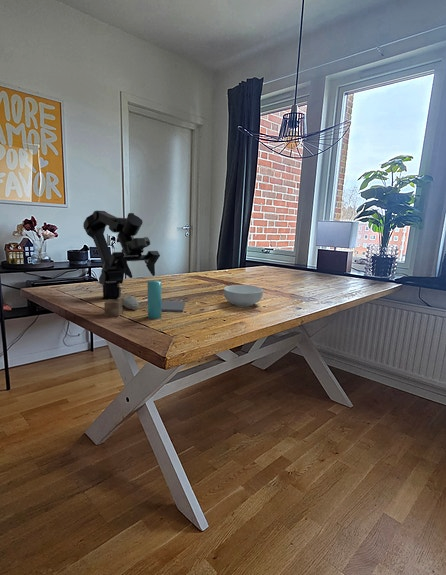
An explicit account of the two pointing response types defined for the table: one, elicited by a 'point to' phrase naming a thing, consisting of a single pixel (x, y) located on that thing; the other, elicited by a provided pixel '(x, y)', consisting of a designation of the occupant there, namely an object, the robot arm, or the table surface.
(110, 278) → the robot arm
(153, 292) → the teal tall cylinder
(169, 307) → the charcoal mat
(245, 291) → the cereal bowl
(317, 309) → the table surface
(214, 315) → the table surface
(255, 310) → the table surface
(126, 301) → the decorative stone
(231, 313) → the table surface
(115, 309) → the walnut block
